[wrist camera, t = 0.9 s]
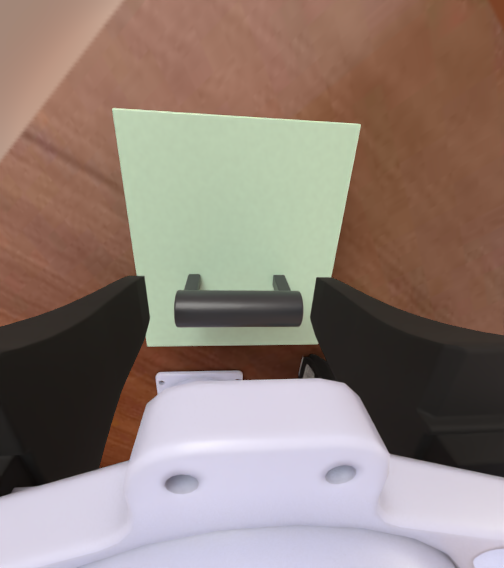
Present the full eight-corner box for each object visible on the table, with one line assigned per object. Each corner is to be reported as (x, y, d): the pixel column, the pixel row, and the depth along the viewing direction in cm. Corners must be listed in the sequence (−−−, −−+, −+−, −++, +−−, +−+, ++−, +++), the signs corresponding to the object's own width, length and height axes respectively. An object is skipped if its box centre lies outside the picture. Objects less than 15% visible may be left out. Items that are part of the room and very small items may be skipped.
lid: (315, 337, 20) (340, 392, 16) (149, 339, 19) (126, 399, 15) (355, 125, 14) (413, 116, 10) (117, 109, 13) (61, 92, 9)
